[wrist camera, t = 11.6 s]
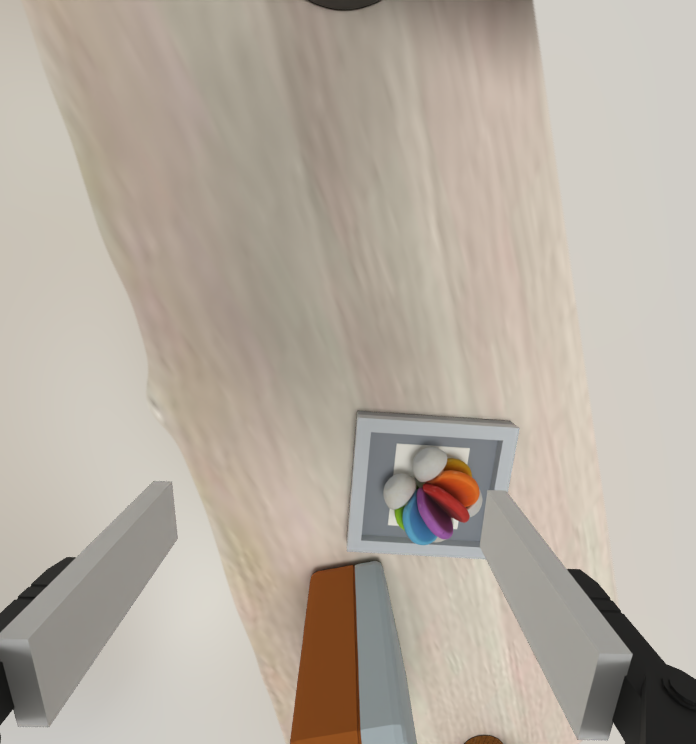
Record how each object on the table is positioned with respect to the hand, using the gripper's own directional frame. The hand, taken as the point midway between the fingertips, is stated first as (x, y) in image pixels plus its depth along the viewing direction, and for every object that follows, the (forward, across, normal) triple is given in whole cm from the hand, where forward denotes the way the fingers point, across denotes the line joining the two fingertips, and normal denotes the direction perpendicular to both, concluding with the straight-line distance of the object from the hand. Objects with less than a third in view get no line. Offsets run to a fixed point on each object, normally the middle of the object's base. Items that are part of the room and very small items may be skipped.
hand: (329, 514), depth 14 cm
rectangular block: (+23, +3, -32) cm, 39 cm away
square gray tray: (+23, +10, -12) cm, 28 cm away
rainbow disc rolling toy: (+22, +10, -12) cm, 27 cm away
